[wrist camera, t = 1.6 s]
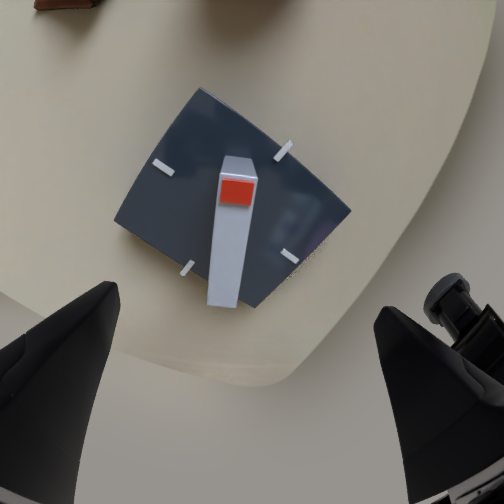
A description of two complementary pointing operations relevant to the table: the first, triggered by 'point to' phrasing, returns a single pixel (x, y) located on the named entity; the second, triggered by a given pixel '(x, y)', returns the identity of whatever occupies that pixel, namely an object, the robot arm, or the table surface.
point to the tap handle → (231, 230)
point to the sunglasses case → (64, 4)
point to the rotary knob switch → (205, 193)
